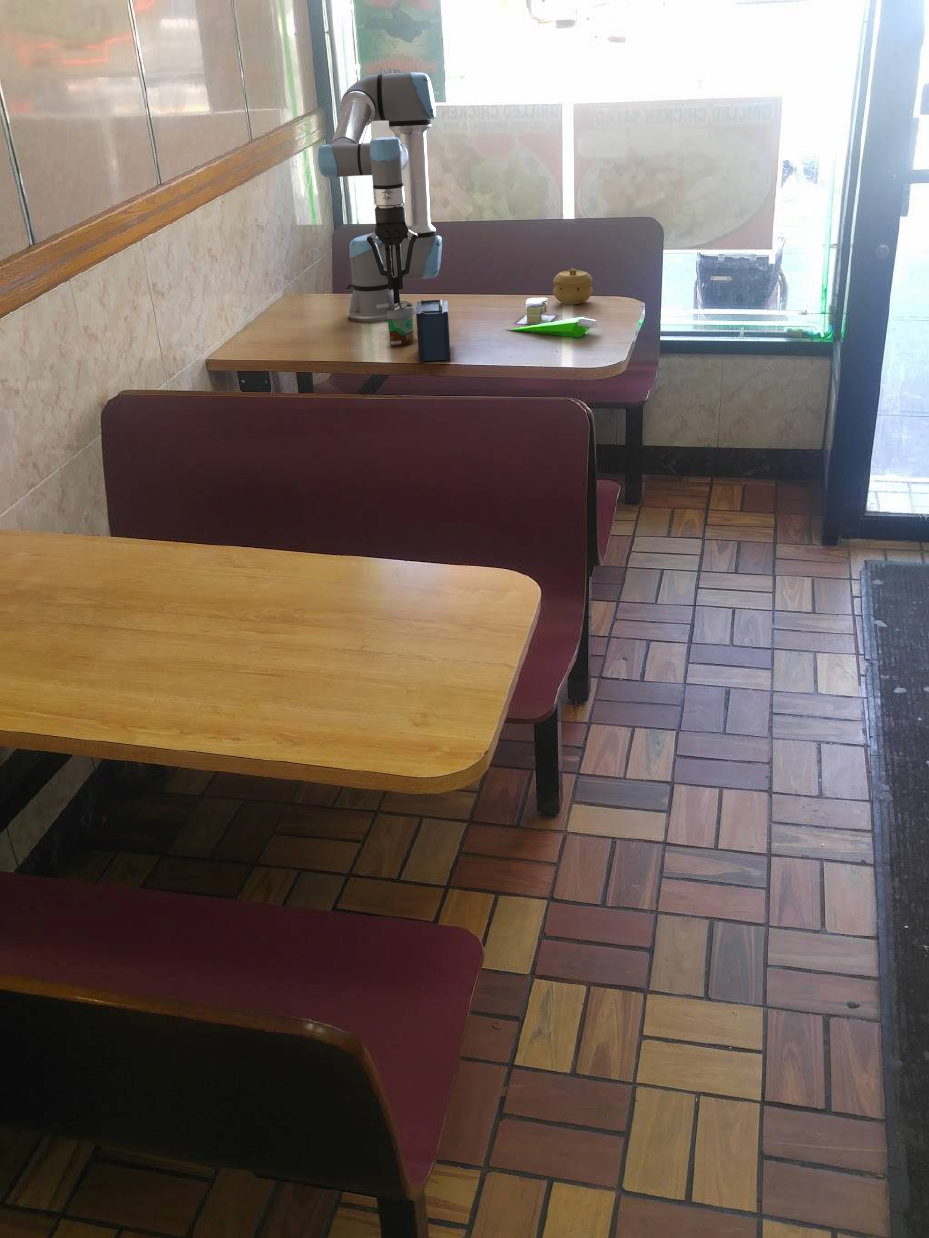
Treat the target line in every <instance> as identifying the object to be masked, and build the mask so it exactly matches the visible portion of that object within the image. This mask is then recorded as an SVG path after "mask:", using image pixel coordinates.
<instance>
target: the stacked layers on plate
mask: <svg viewBox="0 0 929 1238" xmlns="http://www.w3.org/2000/svg"><path fill="white" fill-rule="evenodd" d="M548 300H549V298H547V297H530V298H527V299H526V300H525V301H524V303H525V304H526V305H525V307H524V309H526V313H525V315H524V316H523V317H522V318H521V319H519V321H517V322H516V324H518V325H519V324H520V325H521V324H522V325H526V324H527V325H539V324H545V323H551V321H552V320H554V319H555V318H556V317H557V315H546V314H548V313H549V309H548V305H549V302H547V301H548Z"/></svg>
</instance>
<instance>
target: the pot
mask: <svg viewBox="0 0 929 1238" xmlns="http://www.w3.org/2000/svg"><path fill="white" fill-rule="evenodd" d="M593 281H594V280H593V277H592V275H590V273H588V272H587V271H584V270H579V269H576V268H570V269H569V270H563V271H561V272H558V273H557V274H556V275H555V276H554V278H553V285H554V287H553V290H552V293H553V296H554V297H555V299H556V300H557V301H558V302H559V303H560V304H561V303H562V304H564V305H580V304H583V303H586V302H587V301H588V300H589V299H590V297H591V296H592V295H593V291H594V289H593V287H592V286H591V284H592V283H593Z"/></svg>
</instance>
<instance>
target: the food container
mask: <svg viewBox="0 0 929 1238" xmlns="http://www.w3.org/2000/svg"><path fill="white" fill-rule="evenodd" d="M414 315H416V308H415V305H414V303H413V302H412V301H407V300H400V303H399V304H398V305H397V306H396V307H393V308H392V310H391V311H387V319H388V321H387V325H388V333H389V334H388V335H389V344H390V348H401V347H406V346H409V345H411V344H413V343H414Z"/></svg>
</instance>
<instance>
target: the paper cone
mask: <svg viewBox="0 0 929 1238" xmlns="http://www.w3.org/2000/svg"><path fill="white" fill-rule="evenodd" d="M598 323H599V322H598V320H596V319H591V318H587V316H580V317H574V318H568V319H563V320H556V321H552V322H551V321H550V322H549V323H545V324H532V325H529V326H523V327H516V328H510V329H509V331H514V332H522V333H523V332H524V333H533V334H542V335H551V336H560V337H570V338H579V339H580V338H581V337H582V336H583V335H584V334H586V333H587V332H588V331H589V330H590V329H596V328H597V327H599V324H598Z"/></svg>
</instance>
